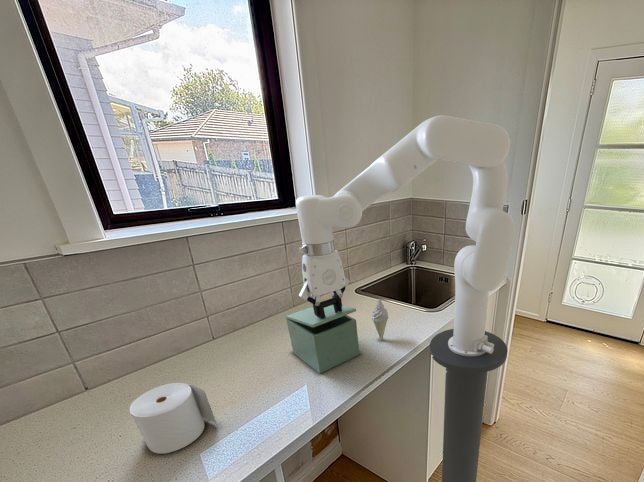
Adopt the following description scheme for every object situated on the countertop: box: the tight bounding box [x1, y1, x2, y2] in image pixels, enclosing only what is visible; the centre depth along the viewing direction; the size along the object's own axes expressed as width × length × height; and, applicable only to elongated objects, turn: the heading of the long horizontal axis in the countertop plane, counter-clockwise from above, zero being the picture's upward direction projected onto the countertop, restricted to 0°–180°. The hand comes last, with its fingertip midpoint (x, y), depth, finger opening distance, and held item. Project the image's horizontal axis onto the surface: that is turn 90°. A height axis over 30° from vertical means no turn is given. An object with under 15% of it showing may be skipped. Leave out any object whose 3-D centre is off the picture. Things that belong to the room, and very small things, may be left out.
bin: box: [285, 314, 360, 374], centre depth 99 cm, size 16×14×12 cm
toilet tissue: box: [128, 382, 218, 455], centre depth 71 cm, size 11×12×10 cm
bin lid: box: [285, 297, 357, 327], centre depth 95 cm, size 16×14×5 cm
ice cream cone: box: [371, 297, 389, 341], centre depth 105 cm, size 5×5×15 cm
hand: (329, 313), depth 91 cm, fingers closed on bin lid, 5 cm apart
